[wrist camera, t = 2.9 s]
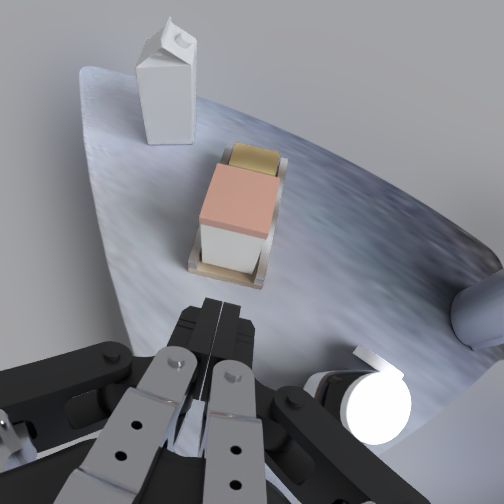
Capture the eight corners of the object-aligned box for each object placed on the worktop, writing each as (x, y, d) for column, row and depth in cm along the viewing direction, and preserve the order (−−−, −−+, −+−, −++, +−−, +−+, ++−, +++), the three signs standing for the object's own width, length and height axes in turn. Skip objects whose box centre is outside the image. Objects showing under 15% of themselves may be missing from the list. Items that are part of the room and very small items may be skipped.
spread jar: (287, 429, 33) (320, 447, 22) (304, 338, 37) (341, 319, 27) (377, 435, 33) (432, 446, 23) (389, 351, 38) (444, 336, 27)
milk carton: (147, 146, 46) (131, 41, 28) (154, 115, 48) (144, 17, 31) (193, 145, 47) (192, 38, 29) (196, 114, 49) (197, 15, 32)
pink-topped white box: (214, 218, 40) (217, 163, 30) (262, 229, 40) (280, 177, 30) (201, 262, 38) (198, 217, 27) (252, 275, 38) (268, 233, 28)
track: (224, 159, 46) (226, 134, 41) (283, 174, 46) (292, 150, 41) (188, 272, 39) (185, 254, 34) (260, 289, 39) (268, 274, 34)
